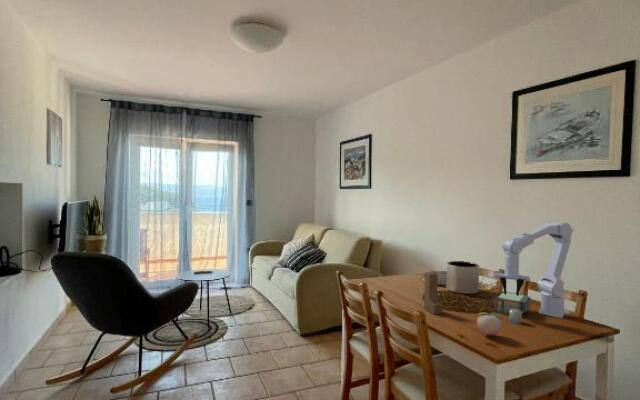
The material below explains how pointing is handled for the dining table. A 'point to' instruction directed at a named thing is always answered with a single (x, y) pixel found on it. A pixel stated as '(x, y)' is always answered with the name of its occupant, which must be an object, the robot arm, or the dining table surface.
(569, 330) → the dining table surface
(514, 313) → the stone
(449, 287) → the planter
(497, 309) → the trapdoor frame
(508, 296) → the trapdoor
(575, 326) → the dining table surface
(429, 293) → the grey upright bracket
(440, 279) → the tin
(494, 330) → the decorative fruit
